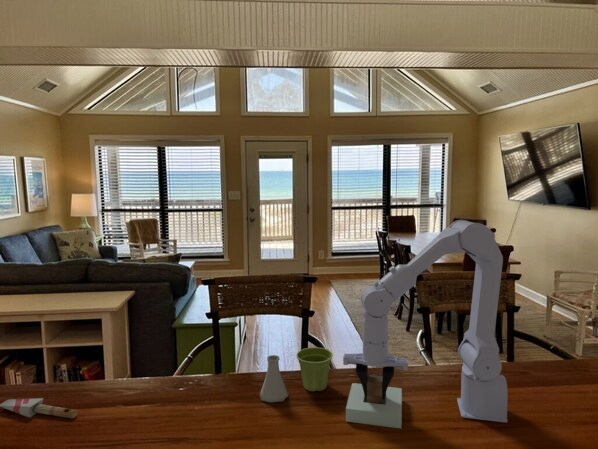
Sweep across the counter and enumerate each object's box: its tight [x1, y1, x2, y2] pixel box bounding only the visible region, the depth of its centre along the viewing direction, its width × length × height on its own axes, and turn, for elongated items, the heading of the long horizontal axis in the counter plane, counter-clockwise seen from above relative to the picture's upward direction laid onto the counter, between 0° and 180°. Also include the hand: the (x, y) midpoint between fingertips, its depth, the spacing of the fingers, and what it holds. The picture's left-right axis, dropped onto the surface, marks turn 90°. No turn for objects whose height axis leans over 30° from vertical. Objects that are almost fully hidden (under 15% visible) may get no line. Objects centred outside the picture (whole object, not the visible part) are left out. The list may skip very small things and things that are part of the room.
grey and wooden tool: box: [0, 397, 79, 420], centre depth 95 cm, size 4×3×20 cm
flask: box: [259, 354, 289, 404], centre depth 101 cm, size 7×7×10 cm
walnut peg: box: [367, 374, 383, 404], centre depth 94 cm, size 3×3×6 cm
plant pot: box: [296, 346, 334, 392], centre depth 106 cm, size 9×9×9 cm
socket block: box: [345, 382, 403, 429], centre depth 94 cm, size 12×12×3 cm
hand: (375, 396), depth 94 cm, fingers closed on walnut peg, 3 cm apart
